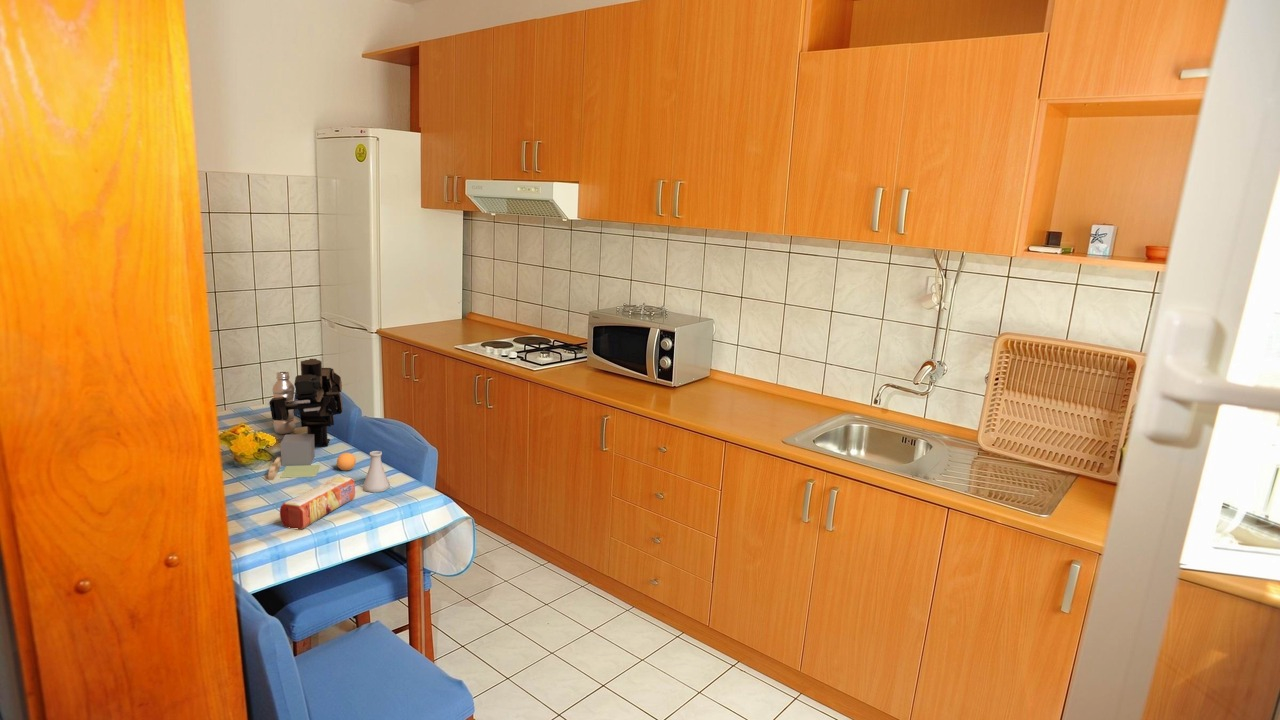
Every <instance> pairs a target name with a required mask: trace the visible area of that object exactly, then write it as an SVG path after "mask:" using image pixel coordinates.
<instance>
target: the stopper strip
mask: <svg viewBox="0 0 1280 720" xmlns="http://www.w3.org/2000/svg"><path fill="white" fill-rule="evenodd" d="M281 467H282V466H281V456H277V457H276V459H275V460H274V462H273V464H272V465H271V467H270V468H269V470H268V481H273V480H274V479H275V477H276V476H277V474H278V472H279V470H280V469H281Z"/></svg>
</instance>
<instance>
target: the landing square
mask: <svg viewBox="0 0 1280 720" xmlns="http://www.w3.org/2000/svg"><path fill="white" fill-rule="evenodd" d="M284 467H285V468H284V469H283V471H282V473H281V475H280V477H279V478H280V479H284V478H285V479H287V478H311V477H312V478H314V477H317V475H318V472H319V470H320V467H321V465H320V464H311V465H301V466H284Z"/></svg>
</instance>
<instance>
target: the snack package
mask: <svg viewBox="0 0 1280 720" xmlns="http://www.w3.org/2000/svg"><path fill="white" fill-rule="evenodd" d="M355 497H356V482H355V481H354V479H353V478H350V477H347V476H335V477H333V478H332V479H331V478H330V480H327V481H325V482H324V483H322V484H320V485H317V486H315V487H313V488H312V489H310V490H308V491H307V492H304V493H302V494H300V495H298V496H296V497H294V498H292V499H290V500H288V501H285V502H283V503H282V505H281V506H280V509H279V515H280V516H279V517H280V521H281V523H282V525H283V526H284V527H286V528H287V527H290V528H289V529H291V528H298V529H301V530H304V529H305V528H306V527H308V526H310V525H311V524H313V523H314V522H316V521H318V520H320V519H322V518H323V517H325V516H326V515H328V514H329V513H331V512H333V511H335V510H336V509H338V508H339V507H341V506H344V505H346V504H347V503H349V502H351V501H353V500H354V499H355ZM303 528H304V529H303Z"/></svg>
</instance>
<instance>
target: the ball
mask: <svg viewBox="0 0 1280 720" xmlns="http://www.w3.org/2000/svg"><path fill="white" fill-rule="evenodd" d="M356 462H357V460H356V457H355V455H353V454H352V453H349V452H344V453H341V454H340V455H339V456H338V458H337V460H336V466H337V467H338V469H340V470H341V471H347V472H348V471H350V470H352V469H354V468H355V466H356Z"/></svg>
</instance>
